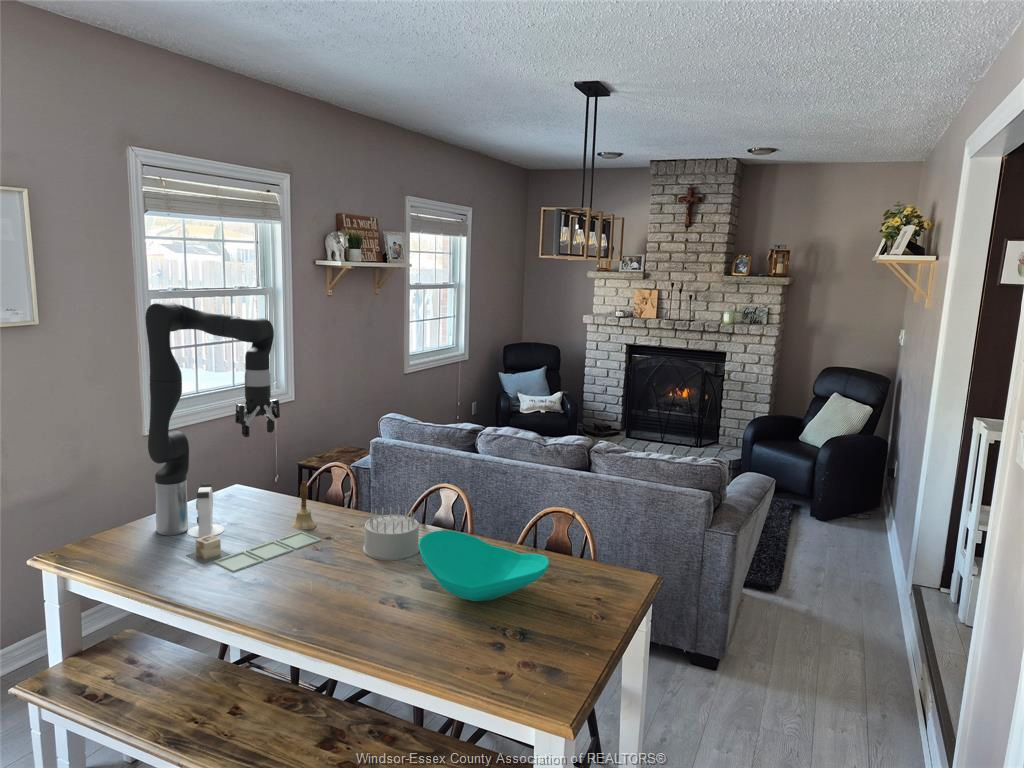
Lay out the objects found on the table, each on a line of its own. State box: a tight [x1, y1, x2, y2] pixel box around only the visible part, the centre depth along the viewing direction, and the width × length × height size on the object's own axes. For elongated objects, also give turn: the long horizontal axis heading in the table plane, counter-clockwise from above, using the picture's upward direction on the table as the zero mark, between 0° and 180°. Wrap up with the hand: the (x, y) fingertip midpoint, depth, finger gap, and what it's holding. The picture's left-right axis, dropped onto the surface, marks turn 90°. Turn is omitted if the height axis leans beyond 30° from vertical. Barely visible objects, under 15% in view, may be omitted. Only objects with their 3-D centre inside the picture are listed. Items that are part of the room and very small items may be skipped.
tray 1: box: [212, 550, 264, 573], centre depth 212 cm, size 10×10×1 cm
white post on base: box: [186, 482, 225, 539], centre depth 234 cm, size 12×11×15 cm
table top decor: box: [418, 529, 550, 602], centre depth 198 cm, size 40×28×13 cm
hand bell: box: [291, 480, 317, 530], centre depth 242 cm, size 8×8×16 cm
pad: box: [185, 549, 231, 565], centre depth 216 cm, size 9×9×1 cm
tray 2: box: [245, 540, 294, 561], centre depth 221 cm, size 10×10×1 cm
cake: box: [362, 506, 420, 562], centre depth 227 cm, size 18×18×13 cm
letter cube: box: [195, 535, 222, 559], centre depth 215 cm, size 5×5×5 cm
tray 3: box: [275, 531, 322, 551], centre depth 230 cm, size 10×10×1 cm
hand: (258, 434), depth 221 cm, fingers open, 8 cm apart
